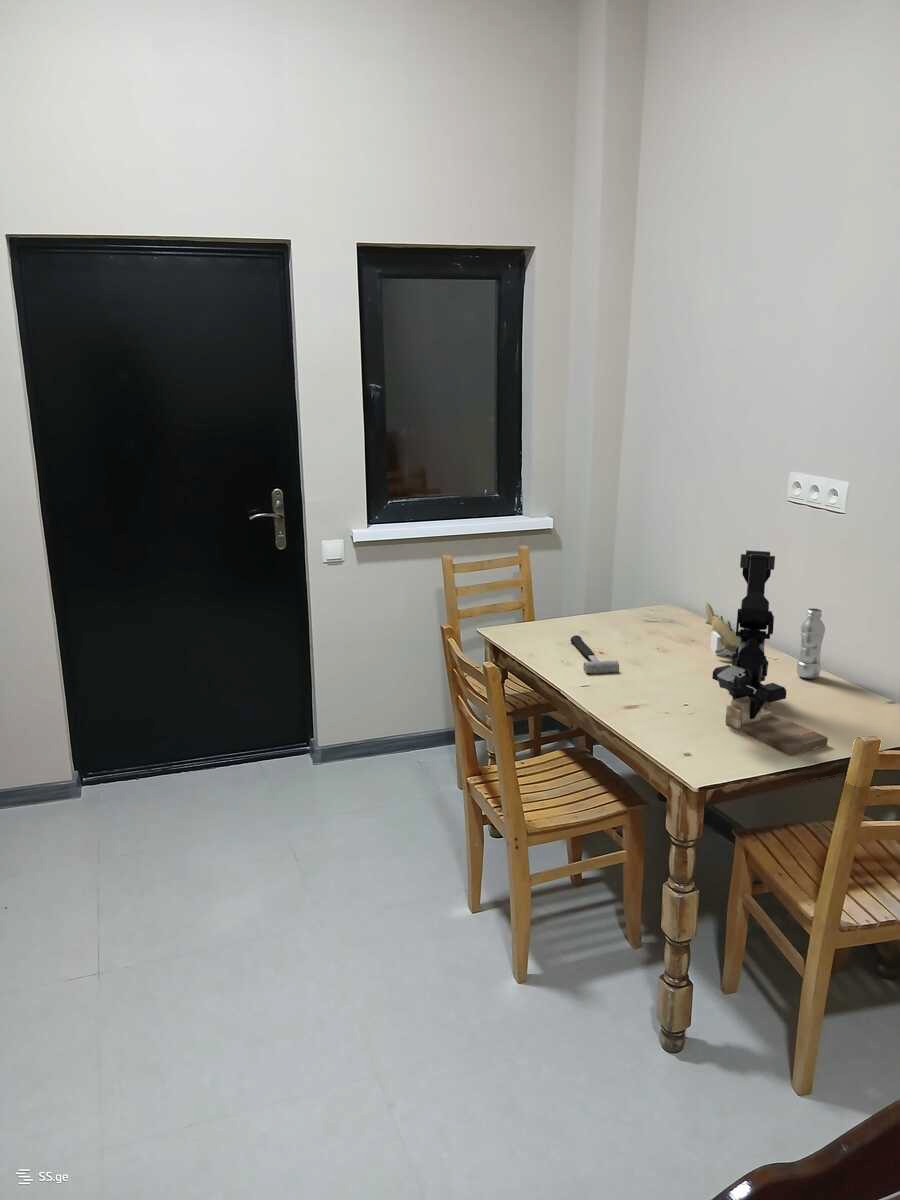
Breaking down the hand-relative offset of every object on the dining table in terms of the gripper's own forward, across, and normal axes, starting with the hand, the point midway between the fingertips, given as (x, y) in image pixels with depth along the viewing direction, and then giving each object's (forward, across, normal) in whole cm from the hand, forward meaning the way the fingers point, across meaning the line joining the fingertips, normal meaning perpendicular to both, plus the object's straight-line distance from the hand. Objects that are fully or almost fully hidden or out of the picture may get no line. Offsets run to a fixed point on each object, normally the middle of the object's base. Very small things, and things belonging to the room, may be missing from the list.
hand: (745, 715), depth 205 cm
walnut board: (+3, +7, +3) cm, 8 cm away
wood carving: (+3, -47, +38) cm, 61 cm away
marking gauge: (+2, 0, +2) cm, 2 cm away
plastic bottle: (+3, -17, +42) cm, 46 cm away
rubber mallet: (+4, -62, -2) cm, 62 cm away
